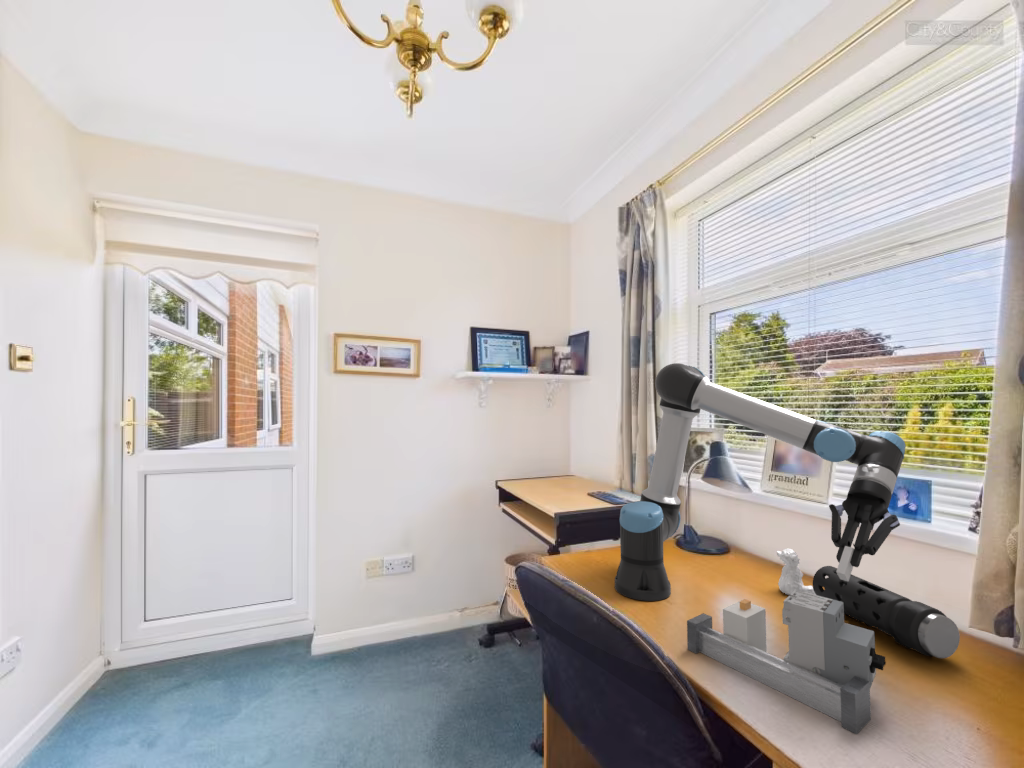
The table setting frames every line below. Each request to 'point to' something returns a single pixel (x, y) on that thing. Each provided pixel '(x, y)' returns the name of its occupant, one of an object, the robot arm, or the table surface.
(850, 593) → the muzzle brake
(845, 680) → the circuit breaker
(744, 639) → the mounted module
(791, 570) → the white creature statuette
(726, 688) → the table surface
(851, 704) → the din rail
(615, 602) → the table surface
